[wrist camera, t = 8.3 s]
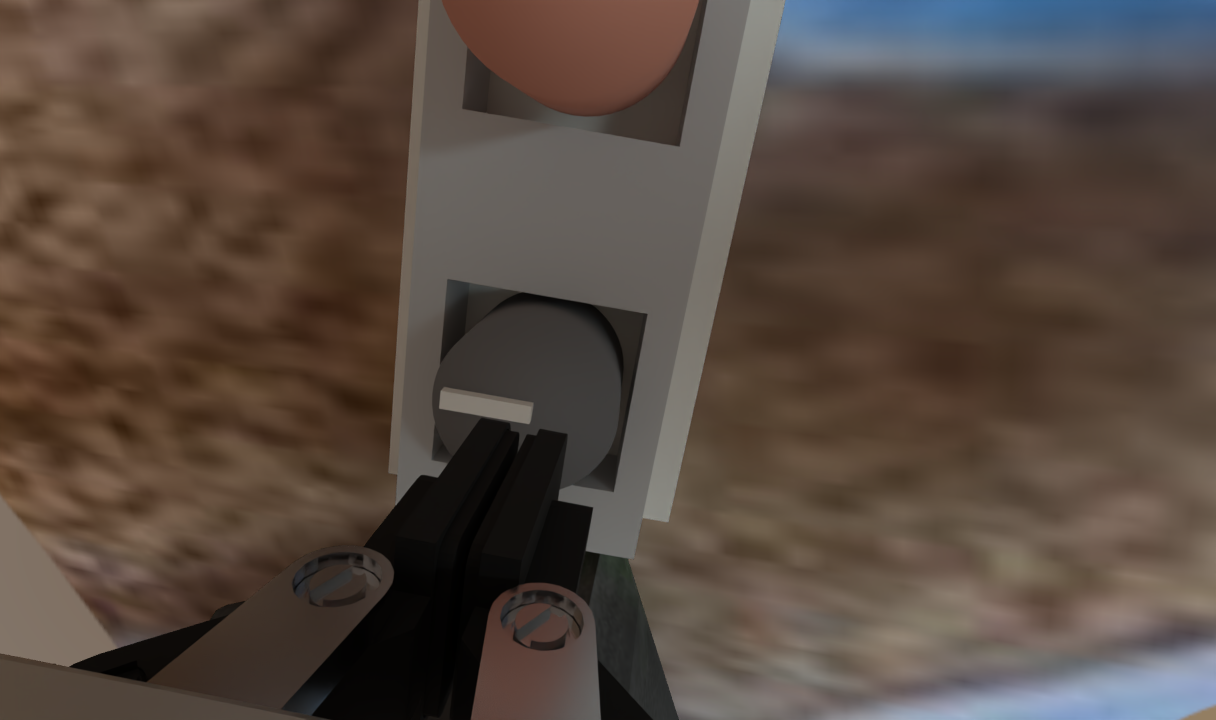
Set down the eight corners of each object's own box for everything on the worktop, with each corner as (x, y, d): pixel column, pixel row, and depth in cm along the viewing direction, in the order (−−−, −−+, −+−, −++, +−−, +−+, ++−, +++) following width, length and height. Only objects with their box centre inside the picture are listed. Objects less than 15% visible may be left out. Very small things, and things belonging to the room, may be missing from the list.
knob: (635, 303, 19) (634, 339, 15) (609, 445, 21) (602, 513, 17) (479, 276, 19) (436, 305, 15) (464, 420, 21) (421, 482, 17)
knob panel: (879, -526, 16) (1022, -948, 10) (664, 469, 25) (671, 565, 19) (510, -589, 16) (431, -1049, 10) (426, 427, 25) (356, 510, 19)
